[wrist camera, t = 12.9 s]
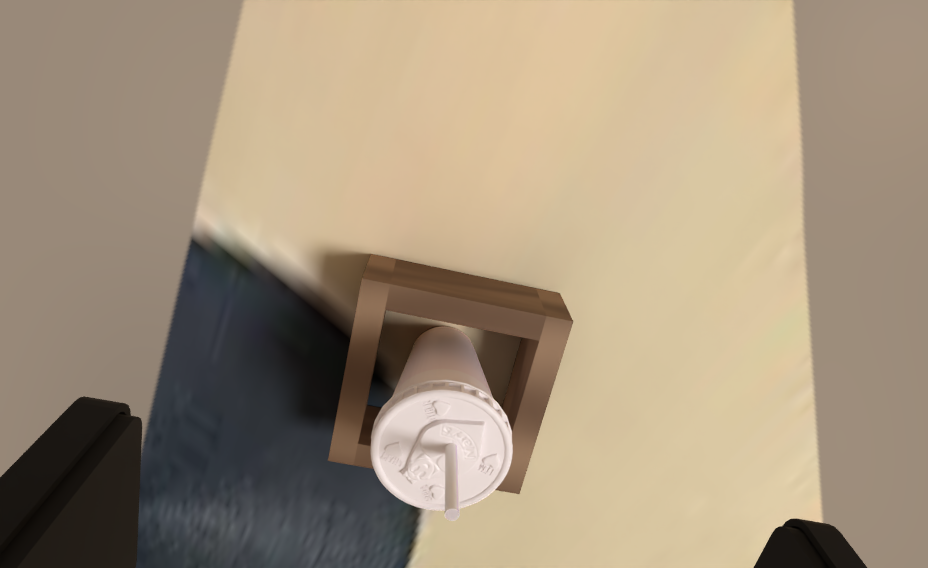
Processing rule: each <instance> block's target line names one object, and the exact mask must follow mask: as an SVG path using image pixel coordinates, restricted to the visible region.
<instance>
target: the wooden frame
mask: <svg viewBox="0 0 928 568" xmlns="http://www.w3.org/2000/svg"><path fill="white" fill-rule="evenodd" d="M386 310H388V311H393V312H398V313H403V314H408V315H413V316H418V317H423V318H428V319H433V320H438V321H443V322H448V323H453V324H458V325H463V326H468V327H473V328H478V329H483V330H488V331H493V332H498V333H503V334H508V335H513V336H518V337H522V339H521V343H520V346H519V350H518V353H517V357H516V360H515V364H514V367H513V371H512V374H511V378H510V381H509V385H508V388H507V392H506V395H505V399H504V402H503V406H502V410H503V411H504V412H505V414H506V415H507V418H508V421H509V424H510V427H511V430H512V445H513V454H512V461H511V465H510V468H509V470H508V473H507V475H506V476H505V478H504V480H503V481H502V482H501V484H500V485H499V486H498V487H497V488H496V489H495V490H499V491H505V492H510V493H516V494H519V493H520V490H521V487H522V484H523V481H524V477H525V474H526V471H527V468H528V465H529V461H530V458H531V455H532V452H533V449H534V445H535V442H536V439H537V436H538V433H539V429H540V426H541V423H542V420H543V417H544V413H545V410H546V407H547V404H548V401H549V397H550V394H551V391H552V388H553V385H554V381H555V378H556V375H557V372H558V369H559V365H560V362H561V359H562V356H563V353H564V349H565V346H566V343H567V340H568V337H569V333H570V330H571V327H572V324H573V320H572V318H571V316H570V314H569V312H568V310H567V307H566V305H565V303H564V301H563V299H562V297H561V295H560V293H555V292H550V291H546V290H541V289H536V288H531V287H526V286H522V285H517V284H512V283H507V282H503V281H498V280H493V279H488V278H483V277H479V276H474V275H469V274H464V273H459V272H455V271H450V270H445V269H440V268H436V267H431V266H426V265H421V264H416V263H412V262H407V261H402V260H397V259H392V258H388V257H383V256H378V255H373V254H371V256H370V258H369V261H368V264H367V266H366V269H365V271H364V274H363V277H362V280H361V286H360V291H359V297H358V302H357V307H356V313H355V318H354V324H353V329H352V334H351V340H350V345H349V351H348V356H347V361H346V367H345V372H344V378H343V383H342V388H341V394H340V399H339V404H338V410H337V415H336V421H335V426H334V431H333V437H332V442H331V448H330V453H329V458H328V461H333V462H338V463H344V464H350V465H355V466H361V467H367V468H373V469H374V467H373V464H372V460H371V434H372V430H373V425H374V421H375V419H376V417H377V416H378V414H379V412H380V410H381V409H382V408H380V407H374V406H369V405H367V401H368V396H369V391H370V386H371V381H372V376H373V371H374V367H375V362H376V357H377V352H378V347H379V342H380V337H381V332H382V327H383V322H384V317H385V312H386Z"/></svg>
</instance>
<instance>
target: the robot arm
mask: <svg viewBox="0 0 928 568" xmlns="http://www.w3.org/2000/svg"><path fill="white" fill-rule="evenodd" d="M141 440H142V421H141V419H140V418H139V417H135V416H131V414H130V408H129V406H128V405H127V404H125V403H119V402H113V401H107V400H101V399H95V398H89V397H80V398H79V399H77V400H76V401H75V402H74V403H73V404H72V405H71V406H70V407H69V408H68V409H67V410H66V411H65V412H64V413H63V414H62V415H61V416H60V417H59V418H58V419H57V420H56V421H55V422H54V423H53V424H52V425H51V426H50V427H49V428H48V429H47V430H46V431H45V432H44V434H42V435H41V436H40V438H38V440H36V441H35V443H34V444H33V445H32V446H31V447H30V448H29V449H28V450H27V451H26V452H25V453H24V454H23V455H22V456H21V457H20V458H19V459H18V460H17V461H16V462H15V463H14V464H13V465H12V466H11V467H10V468H9V469H8V470H7V471H6V472H5V473H4V474H3V475H2V476H1V477H0V568H136V561H137V539H138V514H139V489H140V465H141ZM754 568H867V567H866V565H865V564H864V563H863V561H862V560H861V559H860V558H859V556H858V555H857V554H856V552H855V551H854V550H853V548H852V547H851V546H850V545H849V543H848V542H847V541H846V539H845V538H844V537H843V535H842V534H841V533H840V532H839V531H838V530H837V529H836V528H835V527H834V526H831V525H829V524H825V523H819V522H813V521H807V520H801V519H790V520H788V521H786V522H785V524H784V525H783V526H782V527H778V528H776V529H775V530H774V531H773V533H772V535H771V536H770V538H769V540H768V542H767V544H766V546H765V548H764V549H763V551H762V553H761V555H760V557H759V559H758V561H757V562H756V564H755V566H754Z"/></svg>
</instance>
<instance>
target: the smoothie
mask: <svg viewBox="0 0 928 568" xmlns="http://www.w3.org/2000/svg"><path fill="white" fill-rule="evenodd" d="M512 454H513V445H512V430H511V427H510V424H509V421H508V418H507V415H506V414H505V412H504V411H503V410H502V408H501V407H500V405H499V404H498V402H497V401H495V400H494V399H493V396H492V394H491V391H490V388H489V386H488V383H487V381H486V378H485V375H484V373H483V370H482V367H481V365H480V362H479V360H478V357H477V354H476V352H475V349H474V346H473V344H472V342H471V340H470V339H469V338H468V337H467V336H466V335H465V334H464V333H463V332H461V331H460V330H458V329H455V328H452V327H445V326H442V327H435V328H432V329H429V330H427V331H425V332H424V333H423V334H421V335H420V336H419V337H418V339H417V340H416V342H415V344H414V346H413V348H412V351H411V353H410V355H409V358H408V360H407V363H406V365H405V367H404V370H403V372H402V374H401V377H400V379H399V382H398V384H397V386H396V389H395V391H394V394H393V396H392V398H391V399H390V400H389V401H388V402H387V403H386V404H385V405H384V406H383V407H382V409H381V410H380V412H379V414H378V416H377V417H376V419H375V421H374V425H373V430H372V434H371V460H372V464H373V467H374V470H375V472H376V474H377V476H378V478H379V480H380V481H381V483H382V484H383V485H384V486H385V487H386V488H387V489H388V490H389V491H390V492H391V493H392V494H393V495H394V496H396V497H397V498H399V499H400V500H402V501H404V502H406V503H408V504H410V505H413V506H416V507H419V508H423V509H428V510H439V511H444V510H445V517H446V519H448V520H450V521H454V520H457V519H458V518H459V515H460V514H459V509H460V508H464V507H467V506H470V505H472V504H475V503H477V502H479V501H481V500H482V499H484V498H486V497H487V496H488V495H490V494H491V493H492V492H493V491H494V490H495V489H496V488H497V487H498V486H499V485H500V484H501V482H502V481H503V480H504V478H505V476H506V475H507V473H508V470H509V468H510V465H511V461H512Z"/></svg>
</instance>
